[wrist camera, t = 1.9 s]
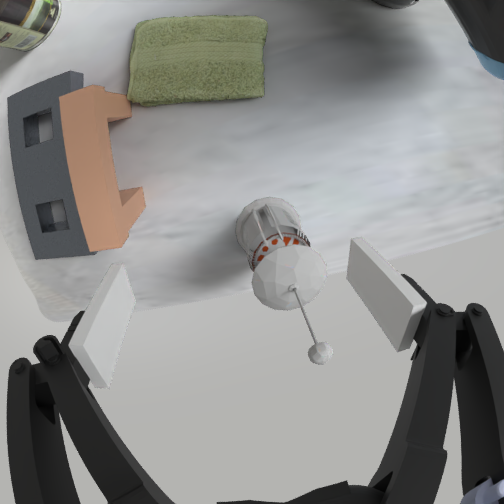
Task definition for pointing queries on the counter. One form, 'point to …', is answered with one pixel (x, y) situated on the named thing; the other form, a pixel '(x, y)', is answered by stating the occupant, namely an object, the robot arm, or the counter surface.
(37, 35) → the coffee can
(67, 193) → the grey slotted base block
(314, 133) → the counter surface
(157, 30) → the washcloth
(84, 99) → the staple
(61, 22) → the counter surface
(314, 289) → the french press
